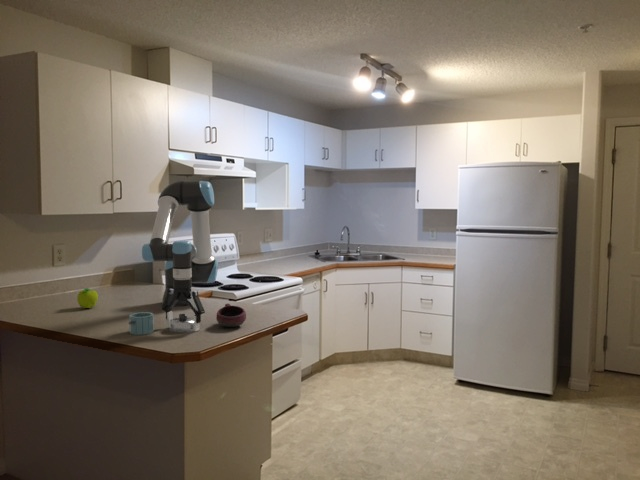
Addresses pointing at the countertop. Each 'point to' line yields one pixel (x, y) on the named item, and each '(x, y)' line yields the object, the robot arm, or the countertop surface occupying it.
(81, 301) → the fruit
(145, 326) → the pot
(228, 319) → the bowl
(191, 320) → the lid
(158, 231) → the robot arm
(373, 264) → the countertop surface
